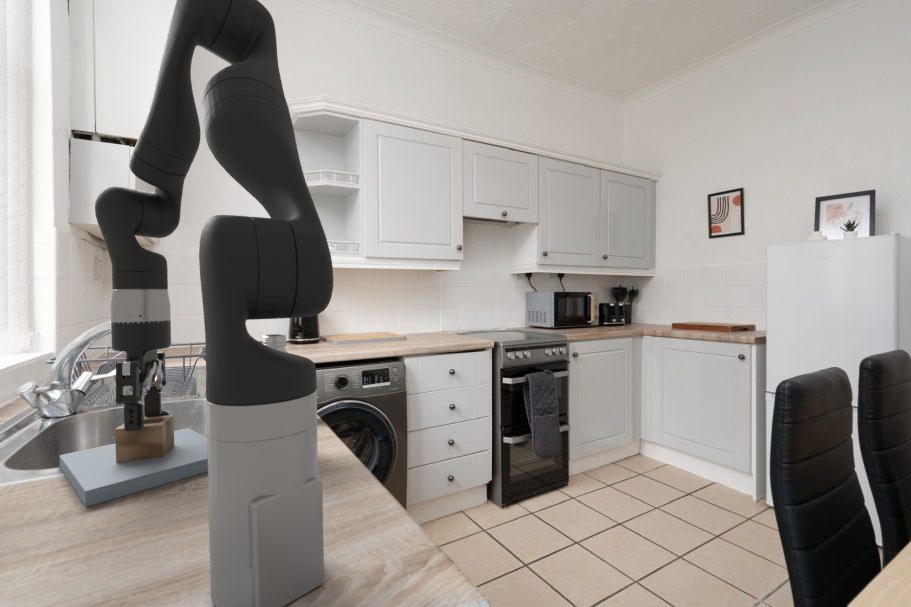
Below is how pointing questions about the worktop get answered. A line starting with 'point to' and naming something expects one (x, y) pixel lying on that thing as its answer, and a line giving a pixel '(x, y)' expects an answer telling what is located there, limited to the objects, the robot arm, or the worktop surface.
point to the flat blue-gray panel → (132, 468)
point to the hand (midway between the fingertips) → (144, 422)
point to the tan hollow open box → (145, 440)
